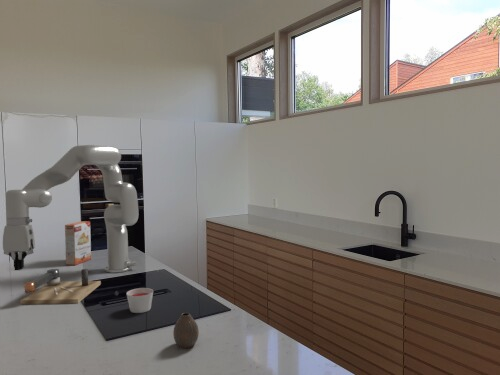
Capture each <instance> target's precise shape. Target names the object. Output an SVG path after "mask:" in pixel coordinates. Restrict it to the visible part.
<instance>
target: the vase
mask: <svg viewBox="0 0 500 375" xmlns="http://www.w3.org/2000/svg"><path fill="white" fill-rule="evenodd" d="M198 326H199V325H198V323H197V321H196V320H195V319H194V318H193V317H192V315H191V314H190V312H183V313H181V314H180V317H179V319H177V321H176V322H175V325H174V328H173V332H172V333H173V339H174V342H175V344H176V346H178V347H180V348H182V349H189V348H191V347H193V346H194V345H195V344H196V343H197V341H198V338H199V327H198Z"/></svg>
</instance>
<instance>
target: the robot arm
mask: <svg viewBox="0 0 500 375" xmlns="http://www.w3.org/2000/svg"><path fill="white" fill-rule="evenodd" d="M121 159H122V152H121V151H120V150H119V148H118V147H115V146H107V145H94V144H93V145H92V144H87V145H86V144H85V145H83V144H82V145H74V146H73V147H71V148H70V149H69V150H68V151H67V152H66V153H65V154H64V155H63V156H62V157H61V158H60V159H59V160H57V162H56V163H55V164H53V166H51V167H49V168H48V169H46V170H45V171H43V172H42V173H40V174H38V175H37V176H35V177H34V178H32V179H31V180H30V181H29V182H28V183H27V184H26V185H24V187H23V188H22V189H8V190H7V191H6V192H5V216H6V218H5V219H6V220H5V224H6V225H5V226H4V228H3V233H2V250H3V255H6V256H9V257H10V258H11V259H12V260H13V268H14V271H21V270H22V269H24V268H25V267H24V266H25V258H26V257H27V256H29V255H32V254H34V249H35V248H36V246H35V245H36V244H35V233H34V228H33V226H32V224H30V223H32V222H33V218H30V211H29V210H30V209H29V208H38V209H39V208H44V207H45V208H46V207H47V206H49V205H50V204H51V203H52V201H53V197H52V194H51V192H50V191H49V190H50V189H52V188H54V187H56V186H59V185H62V184H64V183H65V184H66V183H67V182H68V181H70V180H71V179H72V178H73V177H74V176H75V175H76V174H77V173H78V171H80V169H82V167H84V166H86V165H87V166H88V165H93V166H96V168H98V169H99V170H100V172H101V174H102V178H103V187H104V196H105V199H106V200H107V201H108V202H110V203H119V204H110V205H108V206H107V207H106V208H105V209H104V212H103V217H104V218H103V219H104V223H105V229H106V244H107V245H106V246H107V266H106V267H104V271H105V272H107V273H112V274H113V273H114V274H115V273H124V272H129V271H130V270H132V269H133V267H137V266H138V261H132V260H131V258H129V240H128V239H129V238H128V236H129V235H128V229H127V227H128V226H129V227H130V226H133V225H135V224H136V223H137V222H138V219H139V215H140V214H139V212H140V211H139V201H138V192H137V190H136V187H135V186H134V185H133V184H132V183H130V182H124V181H123V176H122V170H121V167H120V166H119V163H120V161H121Z"/></svg>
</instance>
